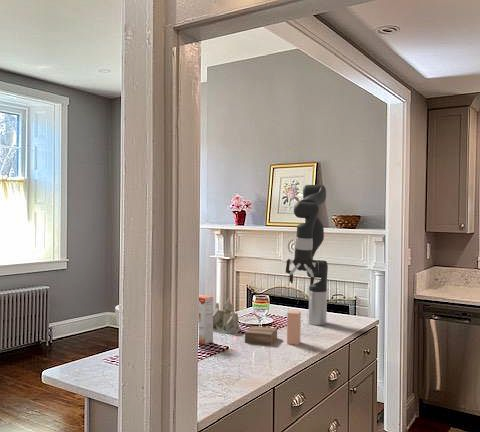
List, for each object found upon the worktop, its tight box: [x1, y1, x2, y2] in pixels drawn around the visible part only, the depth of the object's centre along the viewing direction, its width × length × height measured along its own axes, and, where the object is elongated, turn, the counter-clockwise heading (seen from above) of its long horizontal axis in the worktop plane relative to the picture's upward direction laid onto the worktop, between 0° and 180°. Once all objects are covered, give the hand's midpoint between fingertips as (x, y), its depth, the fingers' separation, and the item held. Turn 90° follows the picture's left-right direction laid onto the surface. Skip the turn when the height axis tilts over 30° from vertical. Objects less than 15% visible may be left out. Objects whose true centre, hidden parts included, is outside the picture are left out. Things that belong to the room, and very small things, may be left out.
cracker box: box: [198, 294, 214, 345], centre depth 224 cm, size 14×6×21 cm, turn 51°
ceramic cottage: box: [213, 298, 241, 334], centre depth 245 cm, size 16×16×15 cm
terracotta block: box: [286, 310, 302, 346], centre depth 223 cm, size 5×5×14 cm
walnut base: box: [244, 325, 278, 346], centre depth 226 cm, size 12×12×5 cm
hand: (301, 283), depth 217 cm, fingers open, 8 cm apart
